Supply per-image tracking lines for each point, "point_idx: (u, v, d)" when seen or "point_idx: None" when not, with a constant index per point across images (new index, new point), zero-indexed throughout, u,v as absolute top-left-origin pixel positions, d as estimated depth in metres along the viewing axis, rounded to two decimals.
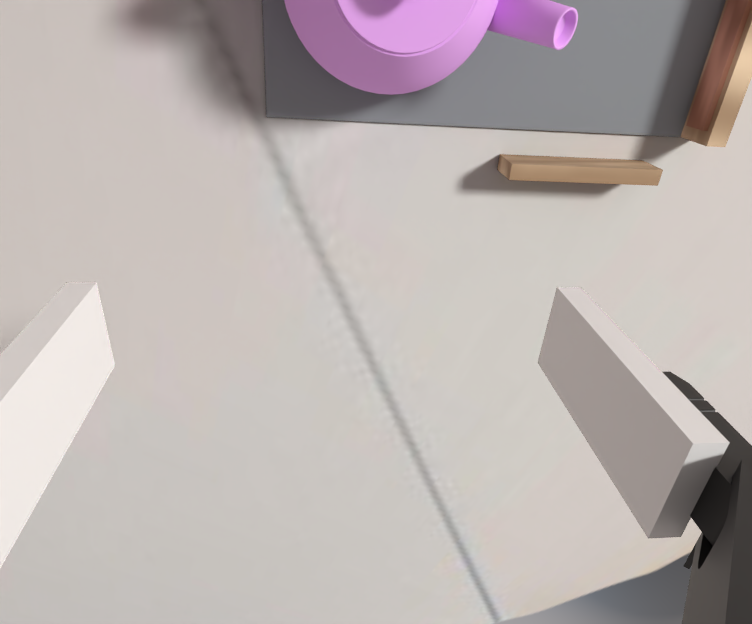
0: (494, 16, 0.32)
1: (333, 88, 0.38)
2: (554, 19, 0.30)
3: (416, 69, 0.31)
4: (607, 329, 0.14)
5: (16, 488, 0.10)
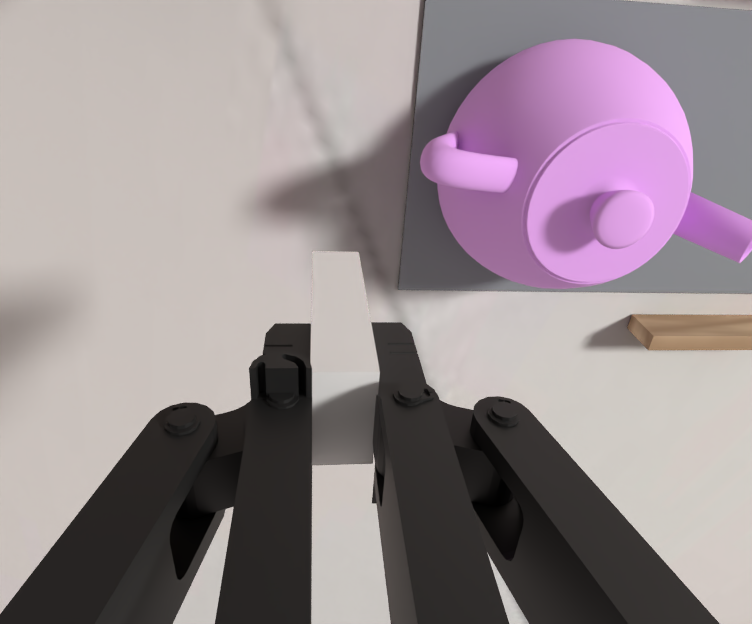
0: None
1: (470, 262, 0.36)
2: (745, 240, 0.28)
3: None
4: (351, 285, 0.15)
5: None
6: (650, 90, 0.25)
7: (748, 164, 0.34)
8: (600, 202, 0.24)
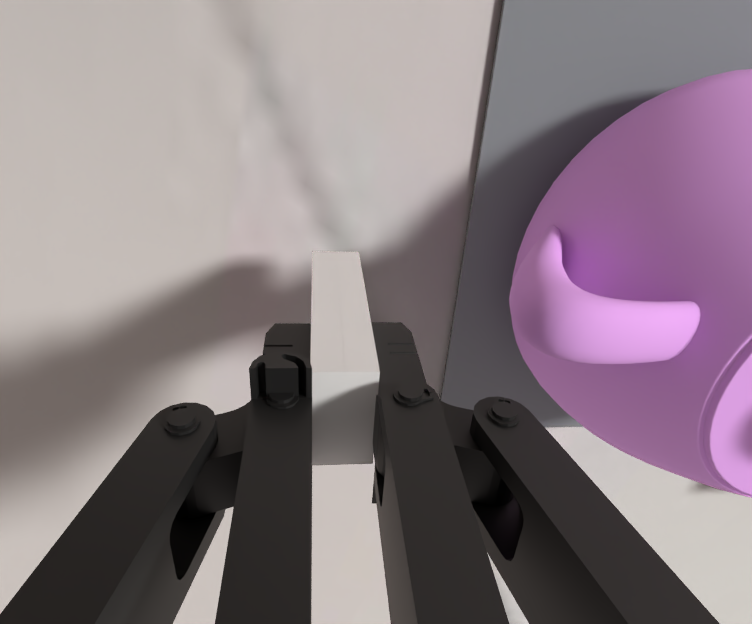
0: None
1: (545, 391, 0.24)
2: None
3: None
4: (351, 285, 0.15)
5: None
6: None
7: None
8: None
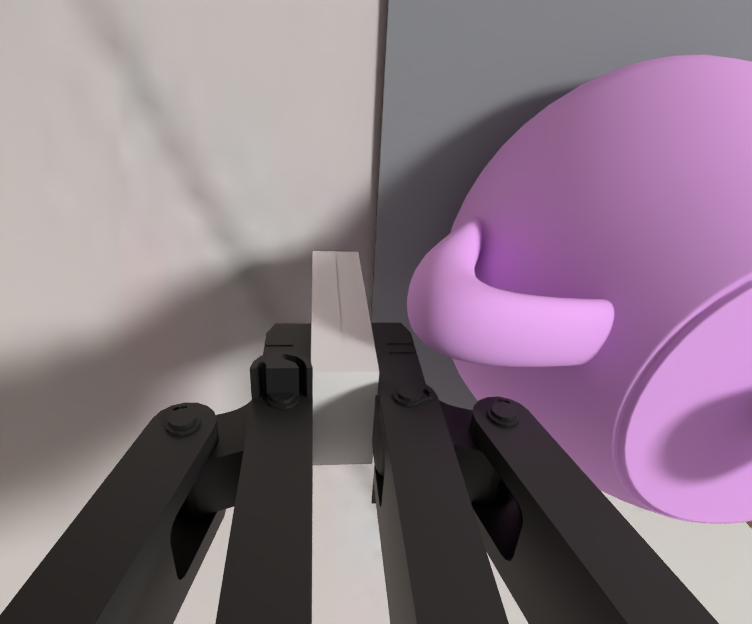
0: None
1: None
2: None
3: None
4: (350, 285, 0.15)
5: None
6: None
7: None
8: None
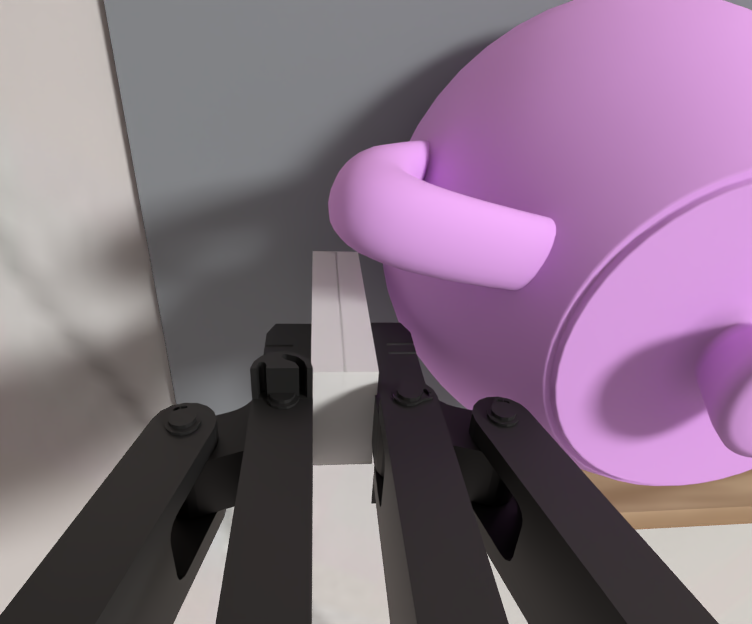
0: None
1: None
2: None
3: None
4: (350, 285, 0.15)
5: None
6: None
7: None
8: (745, 355, 0.10)
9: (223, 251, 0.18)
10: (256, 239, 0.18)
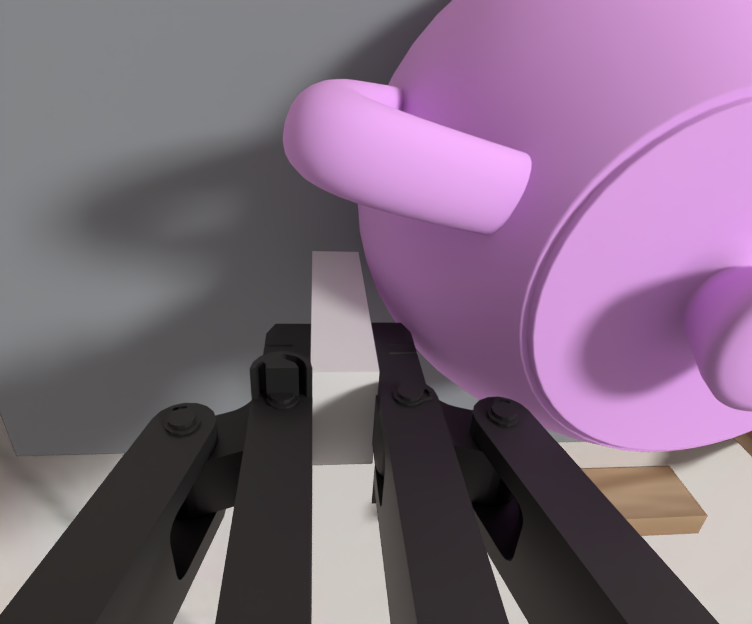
0: None
1: (128, 413, 0.21)
2: None
3: None
4: (350, 285, 0.15)
5: None
6: None
7: None
8: (734, 295, 0.09)
9: (21, 252, 0.18)
10: (54, 240, 0.18)
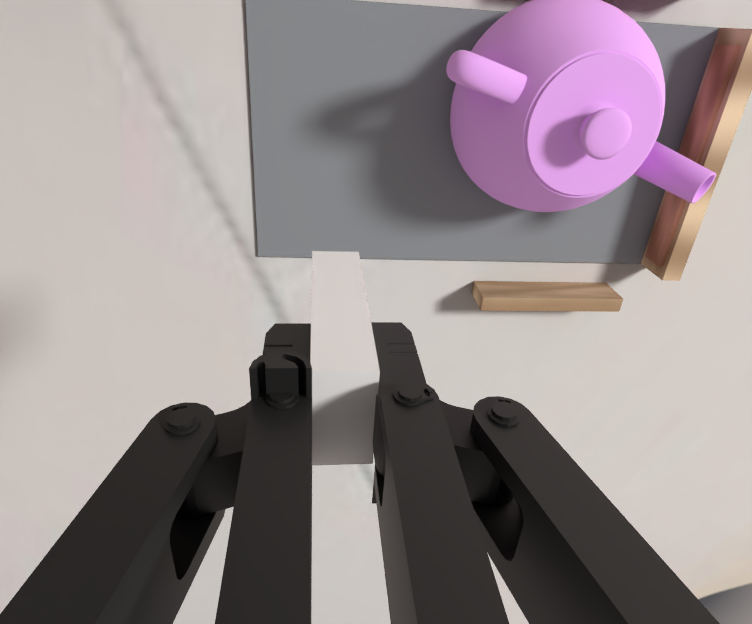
0: None
1: (319, 231, 0.41)
2: (698, 181, 0.34)
3: (571, 204, 0.34)
4: (350, 285, 0.15)
5: None
6: (638, 36, 0.30)
7: None
8: (590, 116, 0.29)
9: (288, 138, 0.38)
10: (304, 132, 0.38)
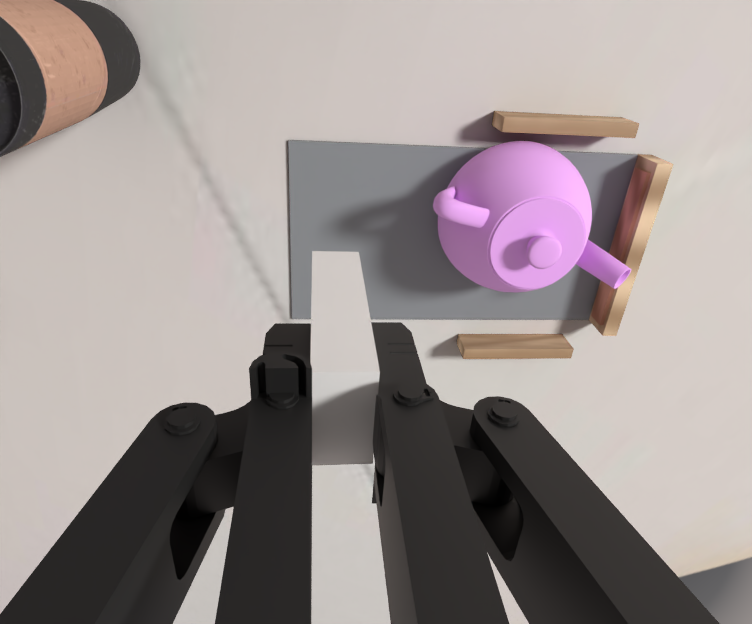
0: None
1: None
2: (617, 275, 0.47)
3: (525, 291, 0.47)
4: (351, 285, 0.15)
5: None
6: (568, 181, 0.43)
7: None
8: (532, 240, 0.42)
9: (316, 236, 0.51)
10: (329, 231, 0.50)
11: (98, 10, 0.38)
